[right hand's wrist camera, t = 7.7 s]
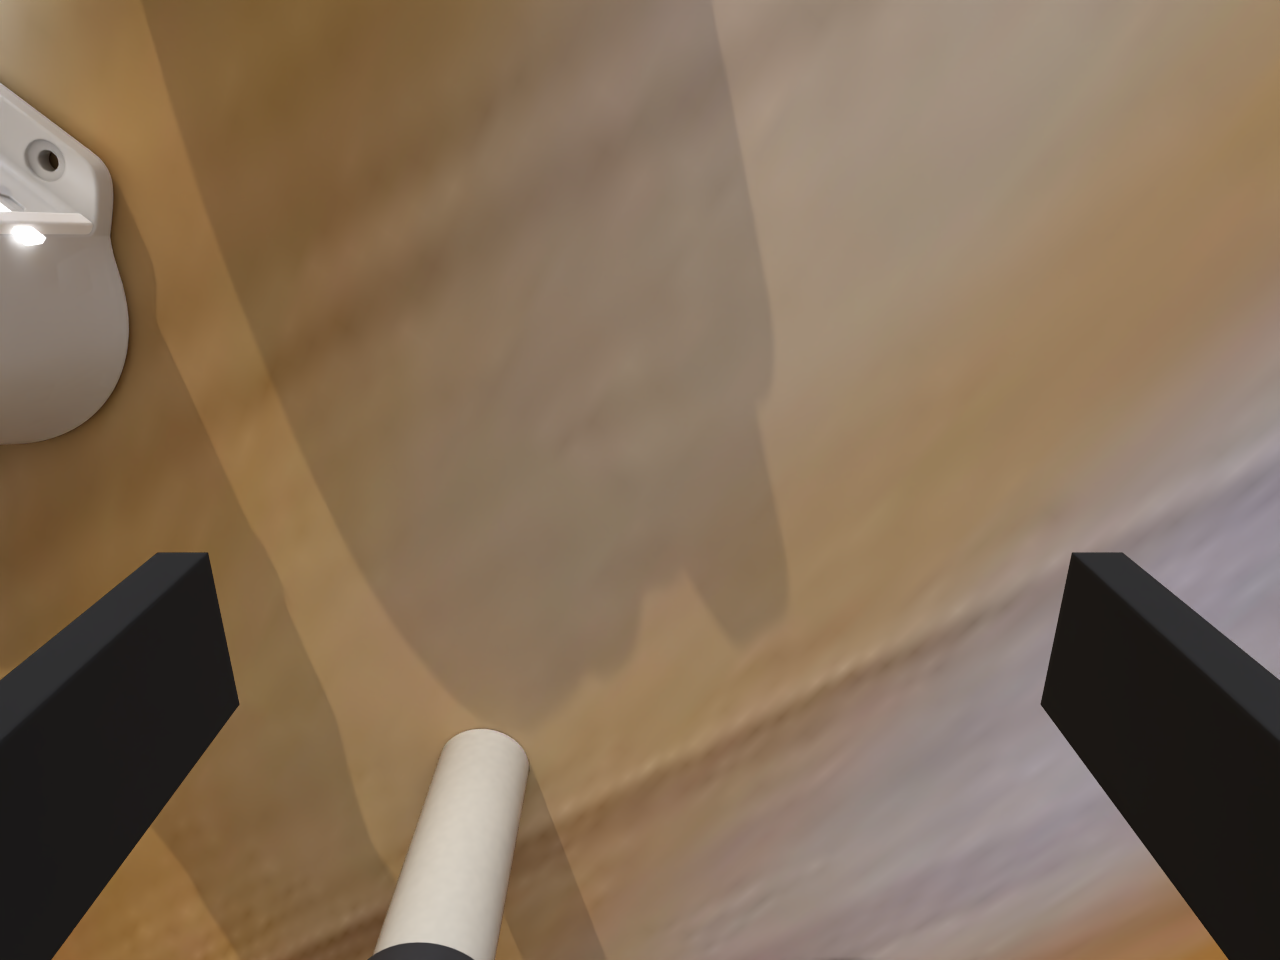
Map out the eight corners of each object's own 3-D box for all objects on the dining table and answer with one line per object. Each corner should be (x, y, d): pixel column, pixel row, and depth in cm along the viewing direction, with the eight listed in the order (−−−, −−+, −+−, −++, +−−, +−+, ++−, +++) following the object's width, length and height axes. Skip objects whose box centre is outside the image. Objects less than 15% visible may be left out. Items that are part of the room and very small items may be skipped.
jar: (537, 738, 48) (491, 1001, 33) (519, 808, 50) (468, 1088, 35) (446, 720, 47) (357, 978, 32) (432, 791, 49) (341, 1067, 34)
